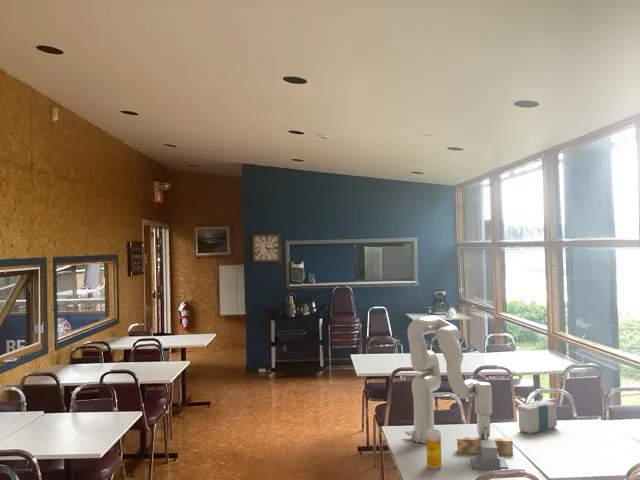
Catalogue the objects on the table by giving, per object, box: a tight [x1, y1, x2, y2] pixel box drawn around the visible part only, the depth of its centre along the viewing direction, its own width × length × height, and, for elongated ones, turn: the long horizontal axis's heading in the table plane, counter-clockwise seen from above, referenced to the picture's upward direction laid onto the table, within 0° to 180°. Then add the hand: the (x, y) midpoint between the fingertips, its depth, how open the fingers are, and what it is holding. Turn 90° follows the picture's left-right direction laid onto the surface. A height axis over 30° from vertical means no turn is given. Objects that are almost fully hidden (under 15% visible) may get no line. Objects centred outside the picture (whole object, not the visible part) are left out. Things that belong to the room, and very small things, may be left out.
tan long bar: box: [456, 436, 514, 456], centre depth 254 cm, size 24×4×6 cm, turn 80°
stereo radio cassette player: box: [517, 387, 558, 435], centre depth 287 cm, size 21×8×20 cm, turn 119°
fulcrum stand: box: [470, 440, 509, 471], centre depth 238 cm, size 14×12×9 cm
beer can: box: [425, 428, 442, 470], centre depth 238 cm, size 6×6×15 cm
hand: (484, 450), depth 254 cm, fingers closed on tan long bar, 3 cm apart
